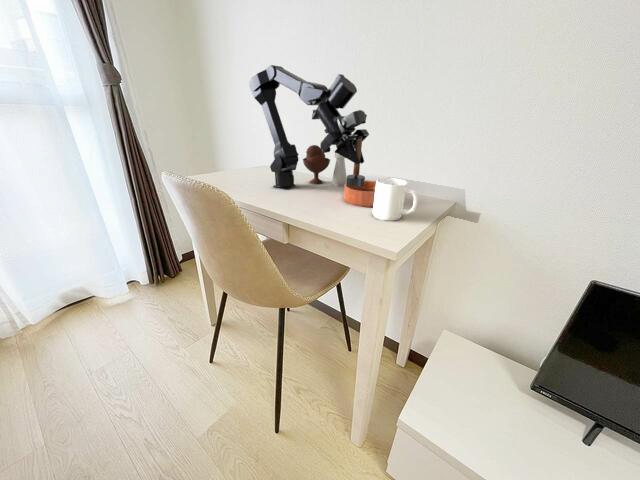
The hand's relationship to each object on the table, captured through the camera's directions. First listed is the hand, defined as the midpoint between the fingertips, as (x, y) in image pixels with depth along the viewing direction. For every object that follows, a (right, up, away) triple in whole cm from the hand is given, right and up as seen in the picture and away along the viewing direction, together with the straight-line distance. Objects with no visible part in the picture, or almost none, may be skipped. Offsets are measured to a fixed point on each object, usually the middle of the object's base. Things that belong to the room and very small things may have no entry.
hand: (361, 163), depth 77 cm
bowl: (+3, -9, +12) cm, 15 cm away
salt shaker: (-4, -1, +29) cm, 29 cm away
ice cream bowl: (-14, +1, +32) cm, 35 cm away
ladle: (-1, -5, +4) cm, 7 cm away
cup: (+9, -16, -2) cm, 19 cm away
